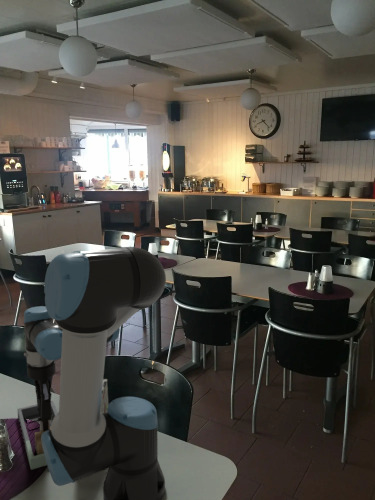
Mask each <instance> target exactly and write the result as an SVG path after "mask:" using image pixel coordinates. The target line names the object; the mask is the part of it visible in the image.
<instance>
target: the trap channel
mask: <svg viewBox="0 0 375 500" xmlns="http://www.w3.org/2000/svg"><path fill="white" fill-rule="evenodd" d="M37 408H38V407H37V403H36V404H33V405H32V404H31V405H29V406H23V407H20V408H17V418H18V419H19V420H18V423H19V422H20V424H19V427H20V426H21V428H20V431H21V430H22V432H21V435H23V436H22V439H24V440H23V443H25V444H24V447H25V451H26V455H27V460H28V463H29V467H30V470H31V471H32V470H35V469H39V468H41V467H46V466H47V462H46V459H45V455H44V453H43V454H40V455H37V454H36V455H34V453H33V448H32V445H31V441H30V438H29V433H28V431H27V430H28V429H27V427H26V426H27V425H26V421H25V420H26V419H29V420H35V421H34V422H38V418H39V417H40V416H39V411H38V410H37ZM58 413H59V411H57V408H56V405H55V403H54V401H53V400H51V417H52V419H51V420H50V426H51V424H52V420H53V419H54V417H55V416H56V415H57V414H58ZM24 418H25V419H24Z"/></svg>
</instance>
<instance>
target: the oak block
mask: <svg viewBox="0 0 375 500" xmlns="http://www.w3.org/2000/svg"><path fill="white" fill-rule="evenodd" d="M49 430H51V428H50V429H49ZM46 431H47V430H46ZM46 431H40V430H39V431H37V432H34V442H35V443H34V444H35V450H36V455H40V454H43V453H44V451H43V447H42V441H41V435H42V433H44V432H46Z"/></svg>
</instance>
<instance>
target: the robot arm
mask: <svg viewBox="0 0 375 500" xmlns="http://www.w3.org/2000/svg"><path fill="white" fill-rule="evenodd" d="M166 282H167V277H166V271H165V268H164V267H163V264H162V263H161V261H160V260H159V258H158V257H156V255H154V254H153V253H152V252H150V251H148V250H147V249H144V248H140V247H136V246H124V247H123V246H122V247H117V248H107V249H106V248H105V249H96V250H86V251H82V250H75V251H72V252H68V253H60V254H58V255H57V256H55V257H54V258H53V259H51V261H50V262H49V265H48V267H47V269H46V273H45V277H44V285H43V287H44V290H43V292H44V294H45V295H44V304H45V306H44V305H41V306H32V307H30V308H27V309H26V310H24V312H23V323H22V324H23V326H24V327H23V328H24V336H25V337H24V339H25V340H24V341H25V351H26V352H24V353H23V356H24V357H26V371H27V377H28V379H30V380H33V384H34V389H35V395H36V404H37V407H38V408H37V410H38V411H39V416H40V417H39V418H38V421H37V422H39V424H40V428H39V432H40V431H46V430H47V431H46V432H44V433H42V435H41V441H42V447H43V451H44V455H45V459H46V462H47V465H46V466H47V469H48V472H49V474H50V477H51V479H52V481H53V483H54V484H55V485H57V486H58V487H63V486H66V485H68V484H71V483H73V484H74V483H75V482H77V481H80V480H82V479H85V478H87V477H89V476H92V475H94V474H97V473H100V472H101V471H104V470H107V472H106V475H105V478H104V481H103V486H102V489H103V490H102V491H103V500H163V498H164V495H165V493H166V480H165V479H166V478H165V476H164V473H163V470H162V468H161V465H160V462H159V458H158V454H159V453H158V450H159V449H158V426H159V421H158V414H157V413H158V412H157V409H156V407H155V406H154V404H153V403H152V402H151V401H150V400H149V401H148V400H147V399H144V398H141V397H137V396H121V397H118V398H115V399H112V401H111V402H109V403H108V408H107V411H108V412H106V413H103V414H102V413H101V412H100V409H101V398H102V386H103V379H104V374H105V362H106V351H107V343H110V342H114V341H116V340H117V339H118V338H119V336H120V335H119V334H120V328H121V327H122V326H123V325H124V324H126V323H127V321H128V320H130V319H131V318H132V317H133V316H134V315H135V314H136V313H138V312H139V311H140V310H144V309H147V308H149V307H151V306H152V305H153V304H155V302H157V300H159V298H160V297H161V296H162V294H163V293H164V291H165V287H166ZM54 321H55V323H54ZM58 360H60V379H59V380H60V381H59V403H58V404H59V408H58V414H57V415H56V416H55V417H54V419H53V418H52V413H51V401H52V392H51V387H52V386H51V385H52V383H51V381H50V378H51V377H53V376H54V375H55V374H56V361H58ZM50 420H51V422H52V424H51V425H50ZM49 429H51V430H49Z"/></svg>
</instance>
